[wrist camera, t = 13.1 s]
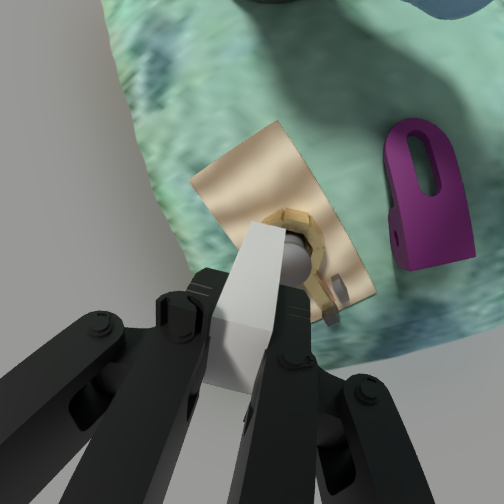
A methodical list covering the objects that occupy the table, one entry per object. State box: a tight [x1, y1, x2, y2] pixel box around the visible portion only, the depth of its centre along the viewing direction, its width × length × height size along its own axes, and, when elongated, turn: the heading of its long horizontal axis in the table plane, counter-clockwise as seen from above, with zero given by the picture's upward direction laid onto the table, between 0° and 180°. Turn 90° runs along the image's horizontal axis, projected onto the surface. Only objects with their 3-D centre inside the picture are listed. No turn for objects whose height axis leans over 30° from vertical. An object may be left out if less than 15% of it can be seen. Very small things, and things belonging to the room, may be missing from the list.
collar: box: [261, 208, 340, 326], centre depth 39 cm, size 16×8×5 cm, turn 35°
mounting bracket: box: [383, 118, 476, 271], centre depth 34 cm, size 9×8×18 cm
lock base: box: [188, 120, 377, 323], centre depth 37 cm, size 28×14×9 cm, turn 34°
